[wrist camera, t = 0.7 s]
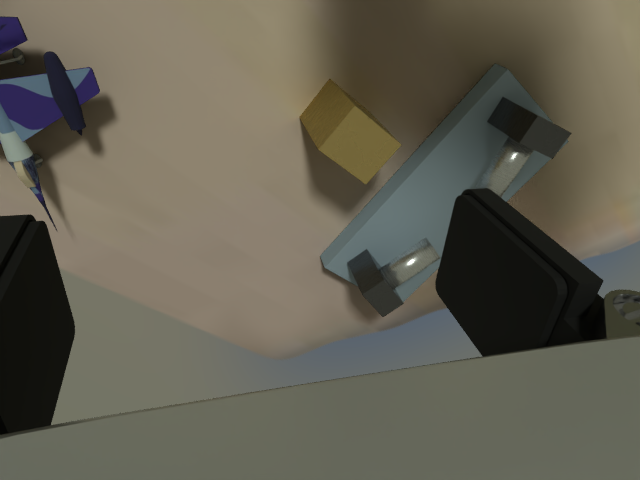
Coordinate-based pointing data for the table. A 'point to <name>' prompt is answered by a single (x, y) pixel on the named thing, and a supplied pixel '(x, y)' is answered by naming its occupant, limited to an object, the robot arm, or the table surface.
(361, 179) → the olive yellow block
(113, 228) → the table surface
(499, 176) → the shaft
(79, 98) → the toy airplane
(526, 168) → the board
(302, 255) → the table surface
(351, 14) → the table surface
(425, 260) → the shaft
